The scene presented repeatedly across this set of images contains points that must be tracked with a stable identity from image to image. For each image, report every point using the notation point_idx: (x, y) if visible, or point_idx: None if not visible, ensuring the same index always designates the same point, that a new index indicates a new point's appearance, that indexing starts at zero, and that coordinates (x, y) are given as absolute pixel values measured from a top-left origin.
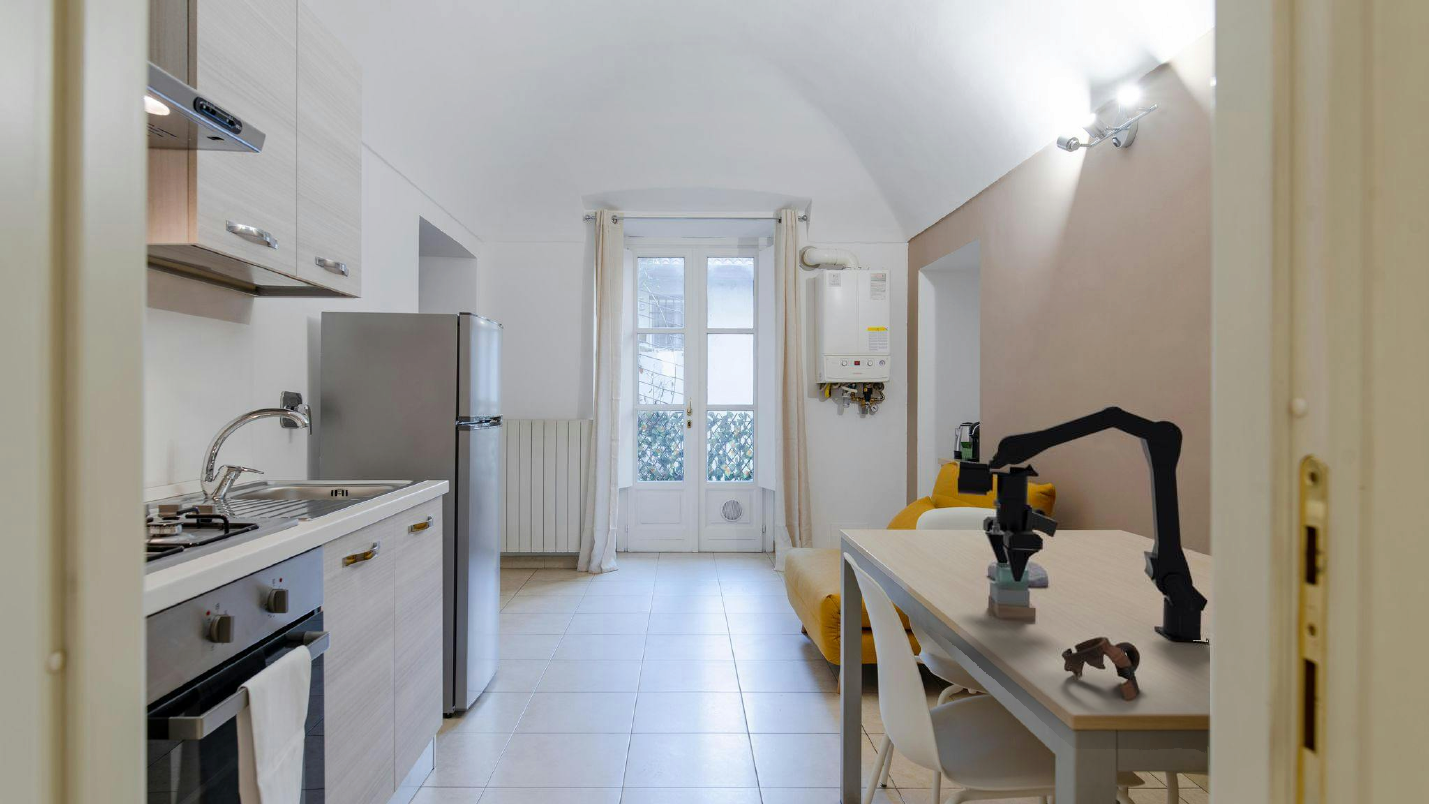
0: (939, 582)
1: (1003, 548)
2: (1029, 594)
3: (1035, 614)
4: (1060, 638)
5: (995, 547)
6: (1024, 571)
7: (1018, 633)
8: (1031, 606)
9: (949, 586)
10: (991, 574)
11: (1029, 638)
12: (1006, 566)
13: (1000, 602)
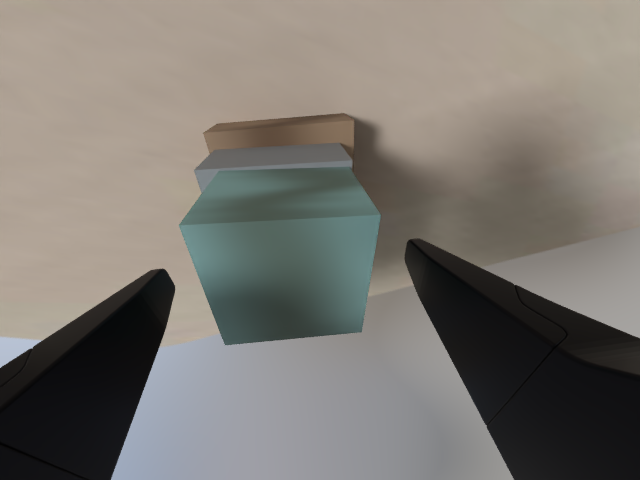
0: (45, 319)
1: (75, 413)
2: (347, 156)
3: (347, 116)
4: (509, 73)
5: (111, 445)
6: (374, 234)
7: (453, 191)
8: (337, 133)
9: (71, 301)
10: None
11: (491, 172)
12: (297, 312)
13: None
